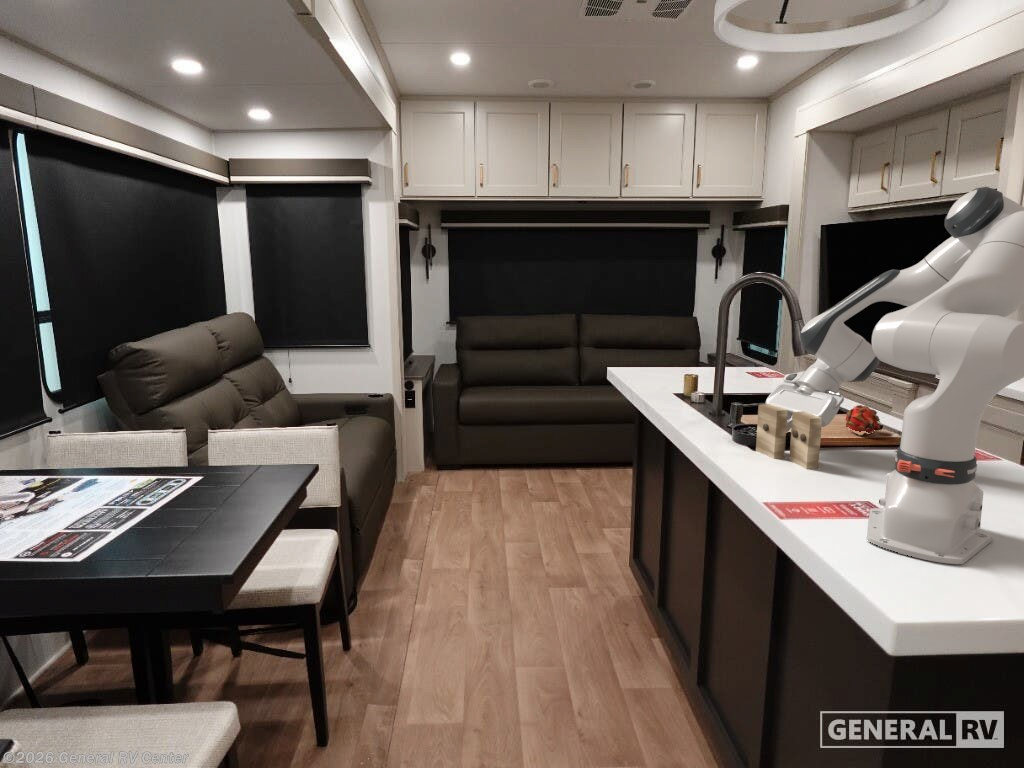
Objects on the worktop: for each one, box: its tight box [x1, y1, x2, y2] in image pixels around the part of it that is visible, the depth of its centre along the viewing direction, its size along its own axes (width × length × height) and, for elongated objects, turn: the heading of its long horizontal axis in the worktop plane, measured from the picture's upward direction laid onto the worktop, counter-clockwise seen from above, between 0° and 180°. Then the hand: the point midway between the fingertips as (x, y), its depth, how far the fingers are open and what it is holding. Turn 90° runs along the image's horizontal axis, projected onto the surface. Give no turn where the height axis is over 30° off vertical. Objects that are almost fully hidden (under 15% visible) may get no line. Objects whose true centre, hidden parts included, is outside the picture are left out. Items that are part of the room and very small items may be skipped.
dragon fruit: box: [845, 404, 884, 434], centre depth 178 cm, size 8×8×12 cm
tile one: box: [755, 403, 788, 459], centre depth 161 cm, size 4×7×12 cm, turn 16°
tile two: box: [789, 411, 822, 470], centre depth 152 cm, size 4×7×12 cm, turn 9°
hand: (781, 429), depth 161 cm, fingers closed
